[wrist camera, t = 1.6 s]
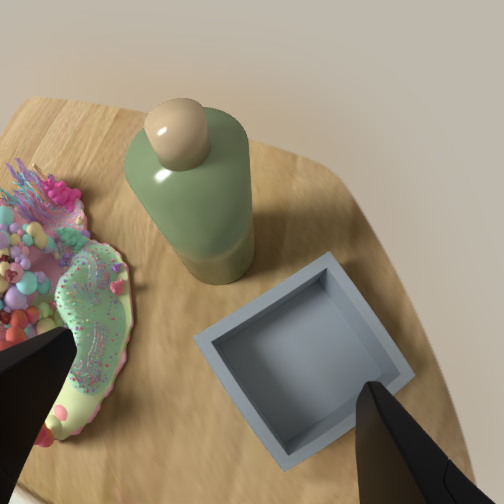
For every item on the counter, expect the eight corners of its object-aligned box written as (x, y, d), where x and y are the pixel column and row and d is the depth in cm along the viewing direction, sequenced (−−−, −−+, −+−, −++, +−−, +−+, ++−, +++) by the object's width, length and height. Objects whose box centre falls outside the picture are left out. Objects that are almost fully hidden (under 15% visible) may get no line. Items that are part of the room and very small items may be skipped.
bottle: (205, 299, 22) (132, 205, 9) (171, 240, 24) (94, 116, 11) (268, 259, 23) (276, 128, 10) (230, 205, 25) (205, 61, 12)
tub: (280, 454, 18) (283, 472, 15) (204, 342, 21) (192, 337, 18) (391, 375, 20) (416, 375, 16) (318, 269, 23) (329, 250, 19)
